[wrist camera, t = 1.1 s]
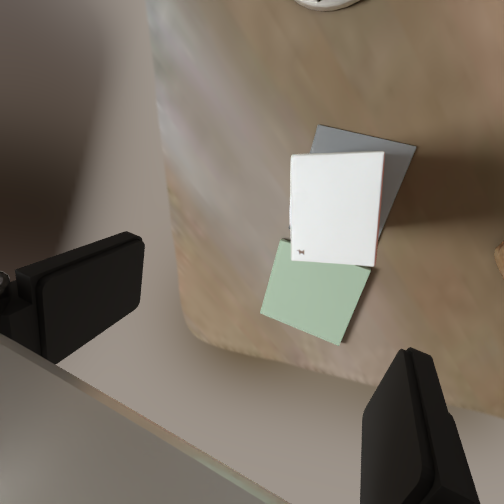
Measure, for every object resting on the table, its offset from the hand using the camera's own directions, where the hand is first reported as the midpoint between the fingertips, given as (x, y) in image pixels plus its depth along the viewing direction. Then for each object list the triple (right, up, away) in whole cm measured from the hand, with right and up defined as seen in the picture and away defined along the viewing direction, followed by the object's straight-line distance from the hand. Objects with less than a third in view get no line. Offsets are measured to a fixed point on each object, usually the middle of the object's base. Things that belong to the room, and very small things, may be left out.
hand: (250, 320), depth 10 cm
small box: (+10, +9, +22) cm, 26 cm away
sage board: (+8, -3, +27) cm, 29 cm away
